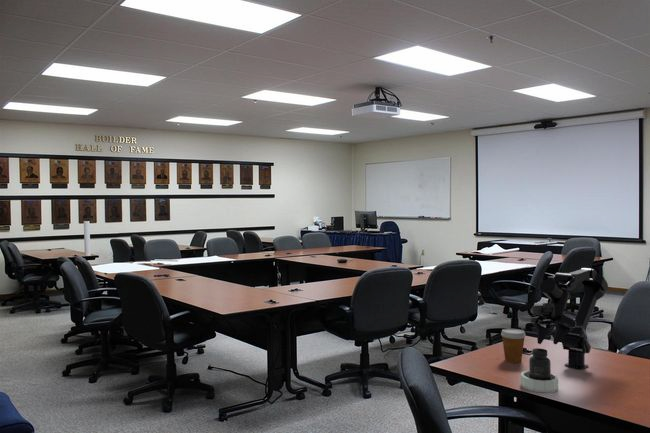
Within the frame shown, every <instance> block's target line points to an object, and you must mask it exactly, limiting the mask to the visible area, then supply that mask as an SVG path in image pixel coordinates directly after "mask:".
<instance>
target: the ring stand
mask: <svg viewBox="0 0 650 433" xmlns="http://www.w3.org/2000/svg"><path fill="white" fill-rule="evenodd" d="M520 386H521V387H522V388H523V389H525V390H528V391H530V392H534V393H548V394H549V393H554V392H555V393H556V392H558V391H559V376H558V375H556V374H554V373H552V372H551V380H545V381H543V380H534V379H531V378H530V372H529V370H524V371H521V373H520Z"/></svg>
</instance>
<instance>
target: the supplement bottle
mask: <svg viewBox="0 0 650 433" xmlns="http://www.w3.org/2000/svg"><path fill="white" fill-rule="evenodd" d="M531 350H532V353H531V354H532V356H530V357H529V370H528V371H529V372H530V378H531V379H534V380H543V381H545V380H551V373H552V372H551V370H552V369H551V366H552V365H551V360H550V358H549V357H548V350H547V349H544V348H538V347H536V348H533V349H531Z"/></svg>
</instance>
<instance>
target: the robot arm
mask: <svg viewBox="0 0 650 433" xmlns="http://www.w3.org/2000/svg"><path fill="white" fill-rule="evenodd" d="M579 283H580V284H581V285H582V290H583V293H584V295H583V298H582V300H581V302H580V304H579V308H578V310H577V313H576V315H575V318H572V317H571V316H568V315H566V314H565V313H568V308H567V304H568V301H569V299H571V298H572V295H571V293H570V292H569V291H568V290H573V289H575V288H576V287H577V286H578V284H579ZM608 284H609V283H608V282H607V280H606V278H605V277H604V276H603V275H601V274H600V273H598V272H597V271H596V269H594V268H590V267H581V268H580V269H578V270H575V271H571V272H556V273H555V274H554V276H547V278H546V279H545V280H543V281H542V282H541V283H540V284H539V285H540V286H539V289H540V292H542V294H544V295H545V296H546V297H547V298H548V299H549V300H550V301H549V302H543V303H542V305H532V306H531V307H532V315H533V317H532V318H531V321H530V324H532V326H534V327H535V329H536V335H537V336H536V337H537V344H538V345H541V344H542V343H543V342H544V340H545V338H546V337H547V335H548V334H549V332H550V328H551V326H552V325H554V327H555V330H554V335H553V336H554V337H553V342H552V344H554V345H558V343H559V342H560V341H561V345H562V350H568V352H567V353H568V360H567V361H568V362H567V363H564V366H565V367H568V368H569V367H570V368H574V369H576V370H577V369H578V370H583V369H585V368H588V367H589V364H586V362H585V356H586V355H585V354H590V352H591V348H592V345H590V342H589V340H588V335H587V327H588V325H589V322H590V319H591V317H592V314H593V312H594V310H595V307H596V304H597V301H598V300H600V299H601V298H603V297H604V296H605V294H606V293H607V290H608V289H609V285H608ZM535 315H537V316H535Z"/></svg>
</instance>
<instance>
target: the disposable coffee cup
mask: <svg viewBox="0 0 650 433" xmlns="http://www.w3.org/2000/svg"><path fill="white" fill-rule="evenodd" d="M500 335H501V337H502V338H501V340H502V346H503V353H504V354H503V355H504V360H505V362H508V361H510V362H509V363H521V362H522V359H523V351H524V350H523V349H524V343H525V338H526V332H525V331H524V330H523V329H517V328H504V329H503V328H502V330H501V333H500Z"/></svg>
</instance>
